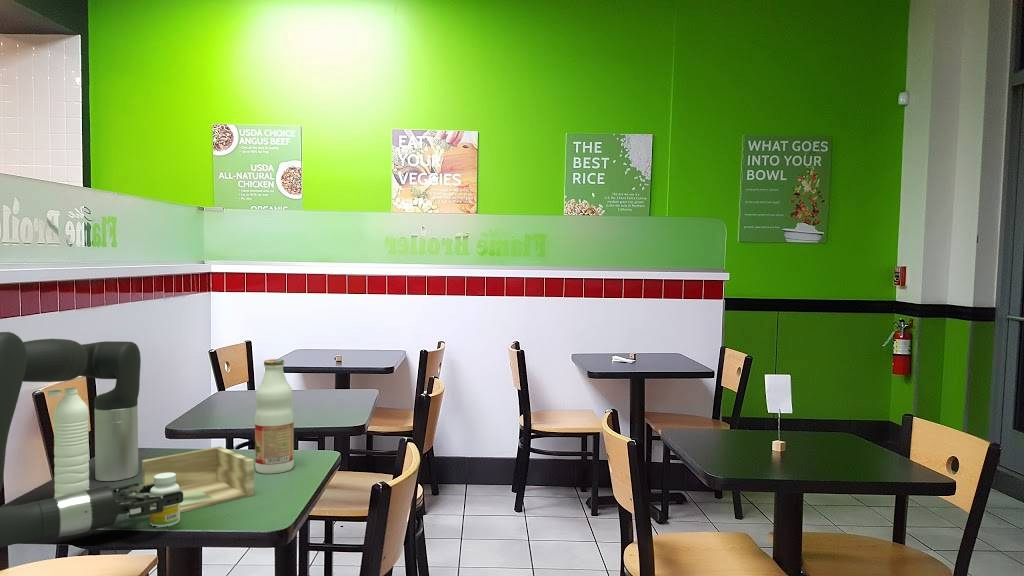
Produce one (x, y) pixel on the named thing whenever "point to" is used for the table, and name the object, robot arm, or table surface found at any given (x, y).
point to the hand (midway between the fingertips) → (174, 491)
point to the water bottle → (70, 443)
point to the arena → (205, 476)
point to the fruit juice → (274, 421)
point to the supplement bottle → (171, 512)
